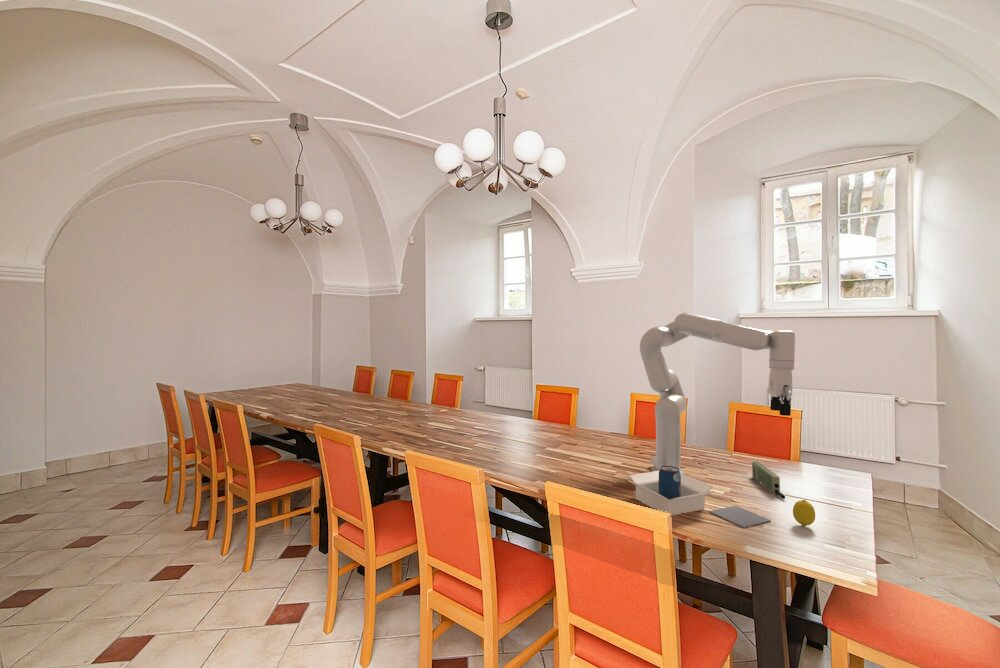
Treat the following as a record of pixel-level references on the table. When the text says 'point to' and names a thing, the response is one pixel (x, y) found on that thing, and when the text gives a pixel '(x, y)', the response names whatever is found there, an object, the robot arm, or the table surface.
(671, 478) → the soda can
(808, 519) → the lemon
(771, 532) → the table surface
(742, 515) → the mat
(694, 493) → the carton
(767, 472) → the handheld radio
